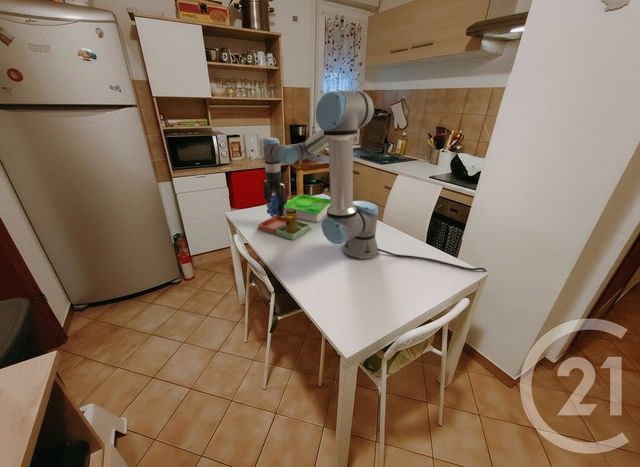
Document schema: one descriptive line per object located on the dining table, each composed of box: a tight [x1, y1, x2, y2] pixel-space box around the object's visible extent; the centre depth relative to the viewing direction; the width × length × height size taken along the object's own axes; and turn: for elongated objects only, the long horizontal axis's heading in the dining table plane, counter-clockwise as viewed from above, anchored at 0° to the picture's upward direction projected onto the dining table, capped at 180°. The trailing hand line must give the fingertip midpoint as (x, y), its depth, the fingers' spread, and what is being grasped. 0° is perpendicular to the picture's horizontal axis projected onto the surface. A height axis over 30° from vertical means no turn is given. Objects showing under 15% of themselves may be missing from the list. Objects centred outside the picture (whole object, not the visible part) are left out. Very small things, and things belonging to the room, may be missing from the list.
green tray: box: [275, 220, 311, 241], centre depth 137 cm, size 11×15×2 cm
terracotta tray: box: [257, 215, 286, 235], centre depth 142 cm, size 11×15×2 cm
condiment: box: [284, 208, 303, 234], centre depth 134 cm, size 7×8×12 cm
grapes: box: [266, 194, 286, 218], centre depth 138 cm, size 12×7×12 cm, turn 129°
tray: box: [283, 193, 331, 223], centre depth 161 cm, size 25×25×5 cm
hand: (276, 213), depth 141 cm, fingers closed on grapes, 7 cm apart
